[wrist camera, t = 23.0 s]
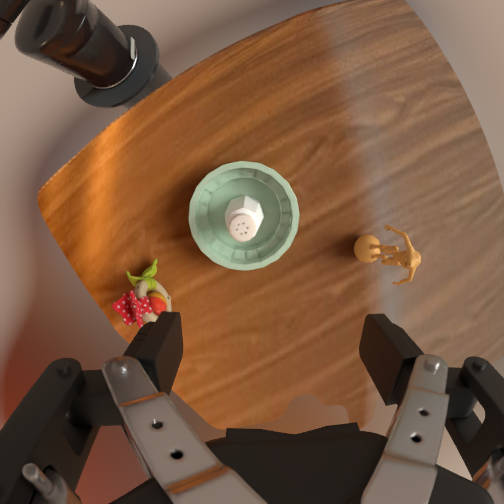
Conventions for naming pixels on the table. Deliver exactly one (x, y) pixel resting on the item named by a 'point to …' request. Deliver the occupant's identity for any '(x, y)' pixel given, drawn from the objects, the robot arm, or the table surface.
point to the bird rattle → (143, 299)
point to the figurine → (388, 253)
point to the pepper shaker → (243, 217)
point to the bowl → (217, 200)
